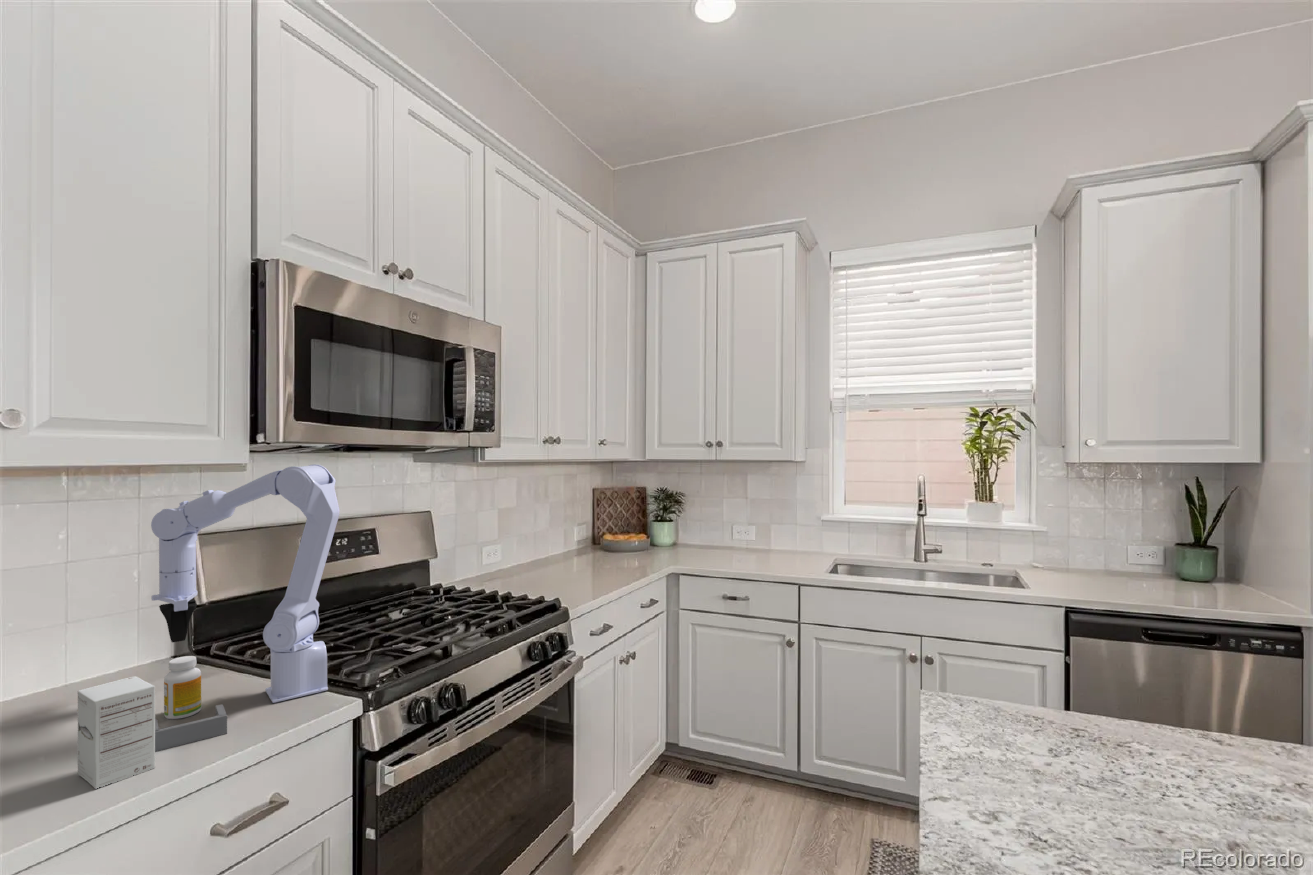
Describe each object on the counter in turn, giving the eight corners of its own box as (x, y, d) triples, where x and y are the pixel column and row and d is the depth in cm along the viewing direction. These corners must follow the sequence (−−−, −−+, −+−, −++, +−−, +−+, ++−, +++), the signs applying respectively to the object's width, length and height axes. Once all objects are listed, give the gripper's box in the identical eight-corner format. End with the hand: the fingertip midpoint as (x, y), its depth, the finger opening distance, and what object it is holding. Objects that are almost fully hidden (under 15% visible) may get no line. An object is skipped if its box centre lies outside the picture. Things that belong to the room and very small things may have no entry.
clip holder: (222, 721, 112) (222, 704, 112) (227, 733, 107) (227, 715, 107) (149, 738, 105) (149, 720, 105) (151, 752, 101) (150, 733, 101)
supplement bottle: (208, 707, 118) (208, 654, 118) (184, 720, 112) (184, 665, 112) (181, 706, 118) (181, 653, 118) (156, 719, 113) (155, 664, 113)
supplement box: (75, 776, 94) (75, 689, 94) (138, 755, 100) (137, 674, 100) (93, 791, 90) (93, 701, 90) (156, 768, 96) (156, 684, 96)
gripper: (149, 567, 126) (150, 635, 127) (153, 579, 115) (153, 655, 115) (193, 562, 131) (194, 628, 131) (201, 574, 120) (201, 646, 120)
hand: (178, 640), depth 124 cm, fingers closed
